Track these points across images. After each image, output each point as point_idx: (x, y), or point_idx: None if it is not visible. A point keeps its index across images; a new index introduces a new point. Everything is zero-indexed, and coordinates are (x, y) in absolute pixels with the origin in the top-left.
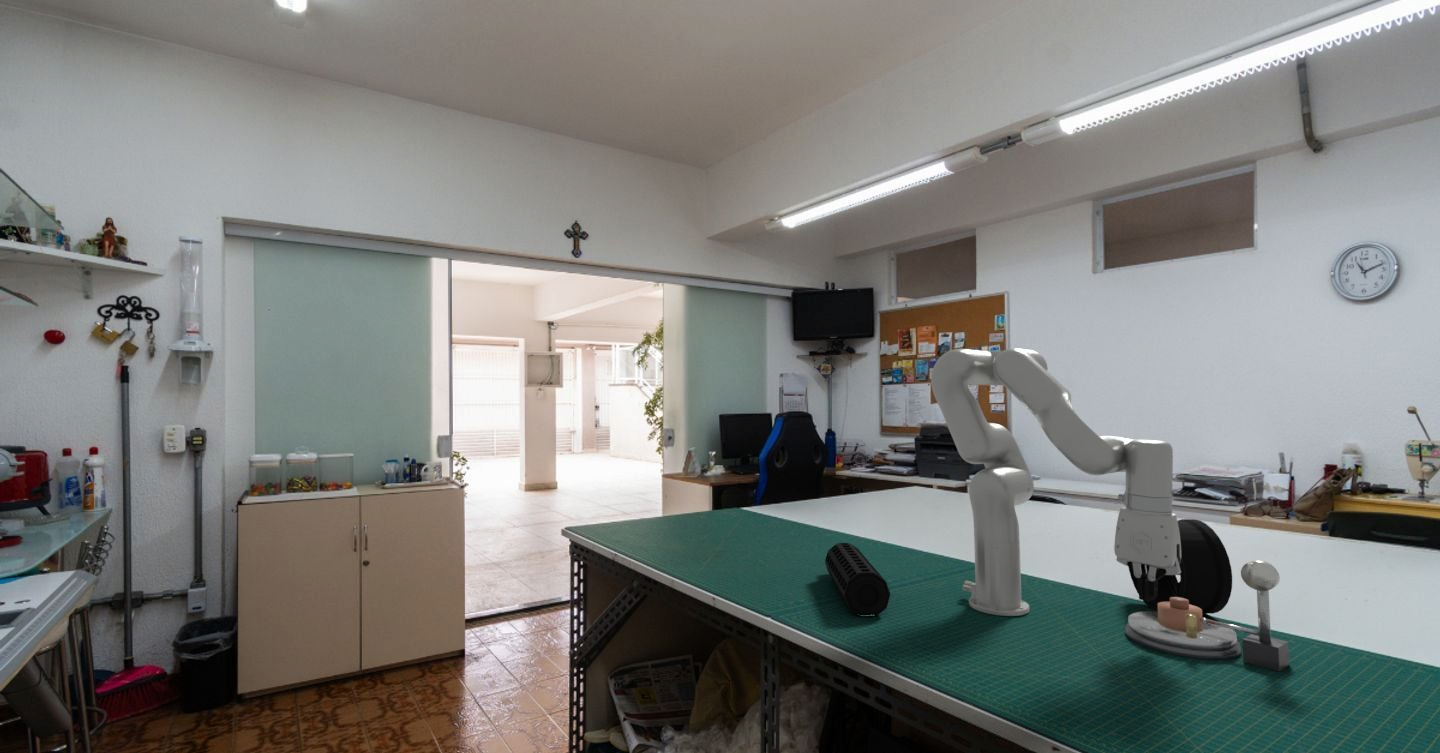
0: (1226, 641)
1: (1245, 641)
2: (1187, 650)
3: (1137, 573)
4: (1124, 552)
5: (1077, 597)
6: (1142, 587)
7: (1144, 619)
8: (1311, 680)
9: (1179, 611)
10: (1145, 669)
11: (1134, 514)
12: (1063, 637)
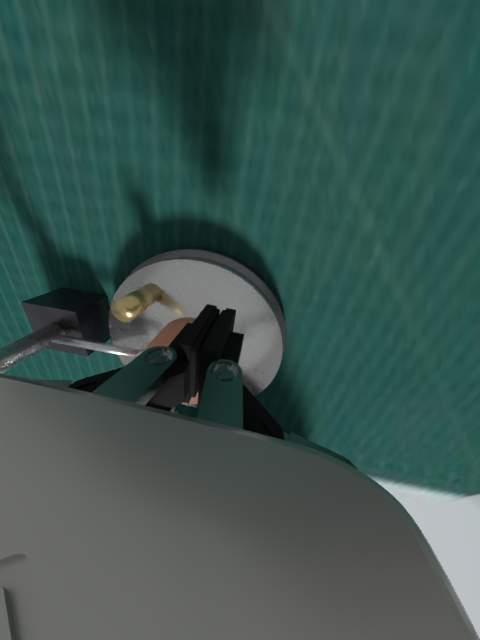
0: (109, 311)
1: (73, 309)
2: (158, 255)
3: (223, 377)
4: (309, 559)
5: (380, 440)
6: (215, 330)
7: (252, 344)
8: (25, 280)
9: (166, 342)
10: (188, 64)
11: None
12: (412, 174)
